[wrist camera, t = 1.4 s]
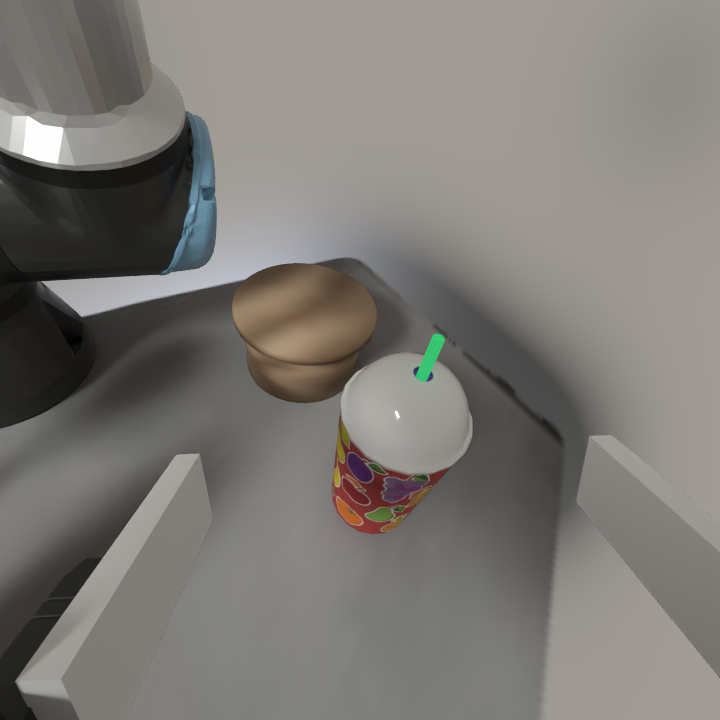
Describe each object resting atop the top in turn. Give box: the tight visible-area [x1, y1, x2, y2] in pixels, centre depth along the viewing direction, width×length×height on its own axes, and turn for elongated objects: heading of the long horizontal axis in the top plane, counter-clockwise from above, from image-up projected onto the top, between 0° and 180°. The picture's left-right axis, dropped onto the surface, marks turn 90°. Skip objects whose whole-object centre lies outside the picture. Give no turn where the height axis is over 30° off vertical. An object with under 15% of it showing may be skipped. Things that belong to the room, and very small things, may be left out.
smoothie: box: [332, 334, 473, 534], centre depth 27 cm, size 8×8×20 cm
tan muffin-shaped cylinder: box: [232, 263, 377, 403], centre depth 41 cm, size 14×14×8 cm
